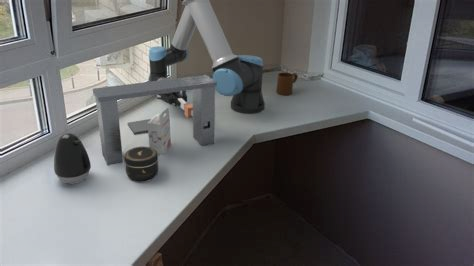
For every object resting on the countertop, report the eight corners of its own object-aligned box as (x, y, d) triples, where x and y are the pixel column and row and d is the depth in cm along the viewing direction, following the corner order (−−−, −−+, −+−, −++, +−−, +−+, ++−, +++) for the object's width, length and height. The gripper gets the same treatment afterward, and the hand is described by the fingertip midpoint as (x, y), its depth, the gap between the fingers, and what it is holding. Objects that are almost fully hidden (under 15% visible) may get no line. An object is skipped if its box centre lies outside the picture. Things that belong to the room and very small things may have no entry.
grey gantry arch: (100, 154, 140) (92, 88, 130) (206, 134, 157) (206, 74, 147) (106, 166, 133) (98, 97, 123) (216, 144, 150) (216, 82, 140)
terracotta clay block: (184, 114, 158) (184, 105, 157) (194, 113, 160) (194, 103, 158) (200, 130, 146) (200, 119, 144) (210, 128, 148) (210, 117, 146)
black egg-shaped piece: (72, 192, 119) (64, 145, 112) (49, 181, 124) (40, 135, 117) (100, 177, 127) (94, 132, 120) (77, 167, 132) (70, 123, 125)
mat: (127, 125, 163) (127, 122, 162) (152, 120, 167) (152, 118, 167) (134, 134, 155) (134, 132, 154) (160, 130, 159) (160, 127, 159)
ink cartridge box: (158, 143, 149) (156, 105, 143) (171, 144, 148) (169, 106, 142) (148, 154, 141) (146, 114, 135) (162, 155, 140) (160, 115, 134)
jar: (129, 186, 123) (126, 163, 120) (123, 170, 131) (121, 148, 128) (162, 179, 127) (160, 157, 123) (154, 164, 135) (153, 143, 132)
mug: (290, 88, 210) (291, 70, 206) (301, 92, 205) (303, 73, 201) (273, 92, 203) (274, 74, 199) (284, 96, 198) (285, 78, 194)
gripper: (180, 94, 184) (201, 113, 165) (151, 98, 178) (169, 118, 159) (179, 78, 181) (200, 95, 162) (150, 82, 175) (169, 99, 156)
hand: (185, 106), depth 161 cm, fingers closed
